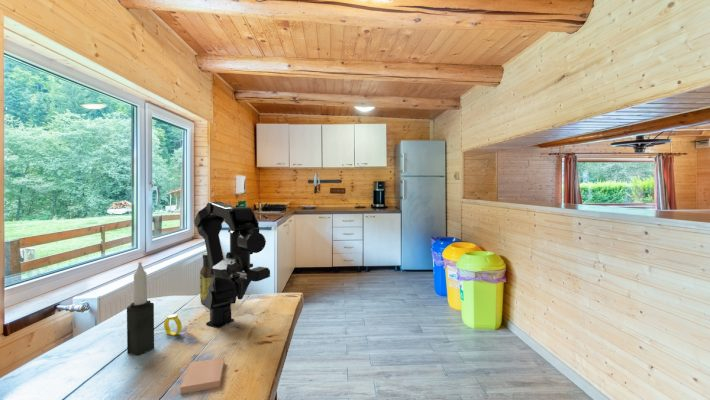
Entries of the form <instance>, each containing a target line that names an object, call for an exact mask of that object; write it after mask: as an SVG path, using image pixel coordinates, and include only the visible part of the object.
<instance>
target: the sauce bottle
mask: <svg viewBox="0 0 710 400" xmlns="http://www.w3.org/2000/svg"><path fill="white" fill-rule="evenodd" d="M202 262H203V263H202V267H201V269H200V271H199V297H200V298H199V299H200V303H201V304H203V305H205V301H204V300H205V298H206V296H207V294H208V292H209V290H208V287H209V285H210V282H211V280H212V276H211V271H210V266H209V260H208V255H207V252H205V253H202Z"/></svg>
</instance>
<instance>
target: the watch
mask: <svg viewBox="0 0 710 400" xmlns="http://www.w3.org/2000/svg"><path fill="white" fill-rule="evenodd" d="M178 316H179V315H178V314H177V313H173V314H169V315H167V317H166V318H165V320H164V322H163V327H164V330H165V333H166V334H167V335H169V336H173V337H175V336H177V335H178V334H180V333H181V332H182V329H183V328H182V327H183V326H182V321H181V319H180V318H179V317H178ZM170 320H173V321H174V322H175V325H176V332H175V331H172V330H171V328H170Z"/></svg>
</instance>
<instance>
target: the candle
mask: <svg viewBox="0 0 710 400" xmlns="http://www.w3.org/2000/svg"><path fill="white" fill-rule="evenodd" d="M142 264H143V262H142V261H139V262H138V266H137V268H136V271H135V272H134V274H133V302H131V303H130V304H129V305H128V306H127V307H126V337H127V338H126V341H127V344H126V348H127V349H126V353H127V354H130V355H134V356H142V355H143V354H146V353H147V352H150V351H151V350H153V349H154V348H155V306H154V305H155V304H154V303H153V302H151V300H148V296H147V295H148V294H147V293H148V290H147V289H148V287H147V286H148V284H147V283H148V281H147V278H148V277H147V274H148V273H147V272H146V271H145V269H144V268H143V267H144V266H143V265H142Z"/></svg>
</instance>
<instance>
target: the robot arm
mask: <svg viewBox="0 0 710 400" xmlns="http://www.w3.org/2000/svg"><path fill="white" fill-rule="evenodd" d="M223 223H225V224H226V225H227V226H228V230H227V233H229V251H227V252H226V254H225V259H224V254H223V249H222V243H221V240H220V232H221V230H222V228H223ZM194 226H195V228H196V230H197V233H198V234H199V236H200V237H202V239H203V240H204V243H205V248H206V250H205V251H206V253H207V255H208V260H209V266H210V271H211V276H212V280H211V282H210V285H209V287H208V290H209V292H208V294H207V296H206V298H205V300H204V301H205V304H204V306H205V308H207V309H208V310H209V321H207V322H205V325H207V326H209V327H214V328H218V329H220V328H222V327H224V326H227V325H228V324H230V323H233V322H234V321H235V318H232V309H231V308H232V306H231V305H233V304H236V301H237V300H239V301H241V300H242V299H244V296H245V294H246V293H247V290H248V287H249V285H250V284H251V282H259V281H262V280H265V279H268V278H270V277H271V269H269V267H266V266H256V267H254V263H251V255H253V254H258V253H260V252H262V251H263V250H264V249H265V247H266V244H267V241H266V238H265V236H264V235H263V233H260V227H259V221H258V220H257V217H256V214H255V213H254V210H253V209H252V208H251V207H250V206H241V207H240V206H238V207H237V206H232V205H229V204H227V203H224V202H222V201H210V202H207V204H206V206H204V207H203V208H202V209H201V210H199V211H198V212H197V213H196V216H195V218H194Z"/></svg>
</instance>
